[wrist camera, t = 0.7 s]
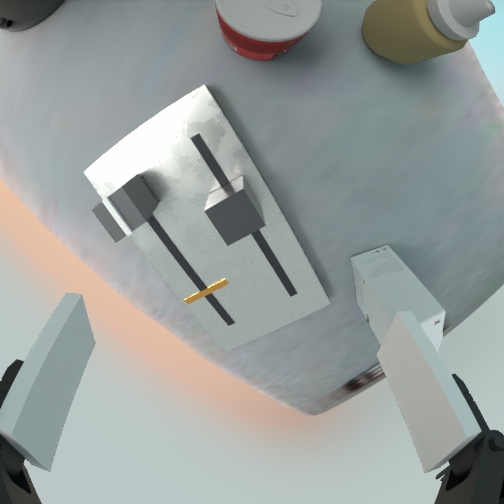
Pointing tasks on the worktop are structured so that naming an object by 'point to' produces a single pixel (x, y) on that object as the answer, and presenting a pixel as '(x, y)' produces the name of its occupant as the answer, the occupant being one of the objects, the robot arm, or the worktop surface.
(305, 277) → the console
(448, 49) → the squeeze bottle
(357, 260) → the skincare box
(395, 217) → the worktop surface
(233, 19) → the canned food
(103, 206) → the fader
